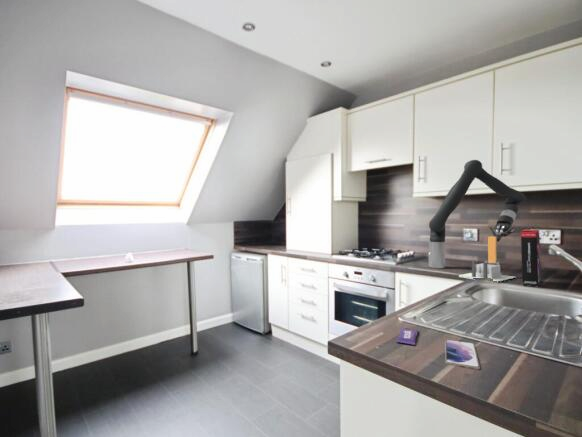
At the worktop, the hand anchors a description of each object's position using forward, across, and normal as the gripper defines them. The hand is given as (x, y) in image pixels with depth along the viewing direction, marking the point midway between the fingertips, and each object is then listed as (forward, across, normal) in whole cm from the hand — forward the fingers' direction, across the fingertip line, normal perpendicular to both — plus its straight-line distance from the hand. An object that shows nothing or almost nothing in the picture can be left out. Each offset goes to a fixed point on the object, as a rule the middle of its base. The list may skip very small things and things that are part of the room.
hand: (496, 240), depth 177 cm
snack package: (+98, +30, -69) cm, 124 cm away
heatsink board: (+22, 0, +6) cm, 23 cm away
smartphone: (+97, +45, -67) cm, 126 cm away
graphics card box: (+21, +20, +8) cm, 30 cm away
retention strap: (+12, 0, +6) cm, 13 cm away
